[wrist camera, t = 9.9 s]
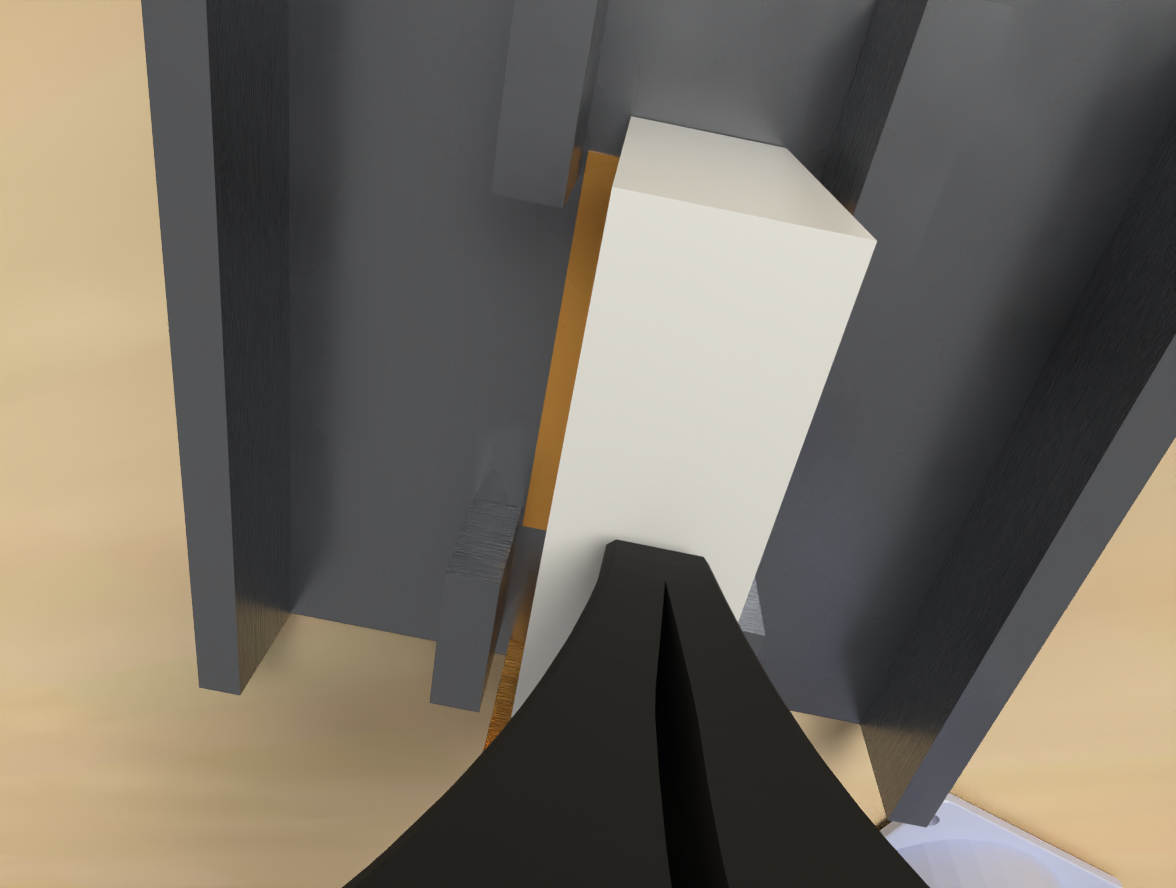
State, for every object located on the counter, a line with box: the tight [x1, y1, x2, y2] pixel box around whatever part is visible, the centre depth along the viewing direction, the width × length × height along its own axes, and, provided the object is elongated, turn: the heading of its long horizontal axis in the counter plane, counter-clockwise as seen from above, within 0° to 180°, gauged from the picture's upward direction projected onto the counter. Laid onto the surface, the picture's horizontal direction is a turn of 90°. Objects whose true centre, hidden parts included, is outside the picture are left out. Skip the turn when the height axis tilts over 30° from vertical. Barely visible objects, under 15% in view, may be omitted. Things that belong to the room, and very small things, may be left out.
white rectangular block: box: [511, 116, 877, 718], centre depth 14 cm, size 10×3×7 cm, turn 170°
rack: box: [141, 0, 1176, 828], centre depth 16 cm, size 18×18×5 cm
